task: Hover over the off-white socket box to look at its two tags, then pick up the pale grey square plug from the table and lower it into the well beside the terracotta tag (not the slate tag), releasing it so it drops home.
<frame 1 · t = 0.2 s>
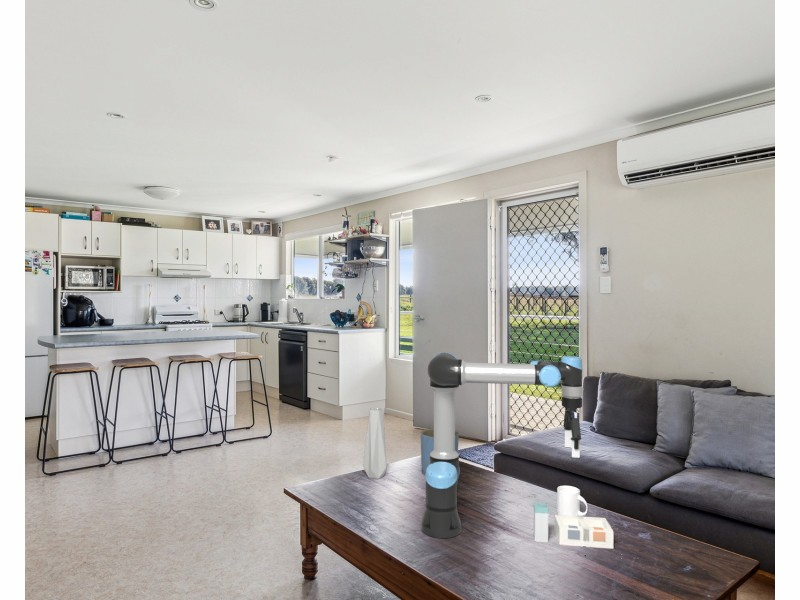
hand: (571, 452, 193), 28 cm above the table, fingers open, 13 cm apart
vase: (376, 477, 245), on the table
mug: (572, 518, 199), on the table
planter: (439, 473, 252), on the table
socket box: (582, 539, 180), on the table
plug: (540, 538, 180), on the table
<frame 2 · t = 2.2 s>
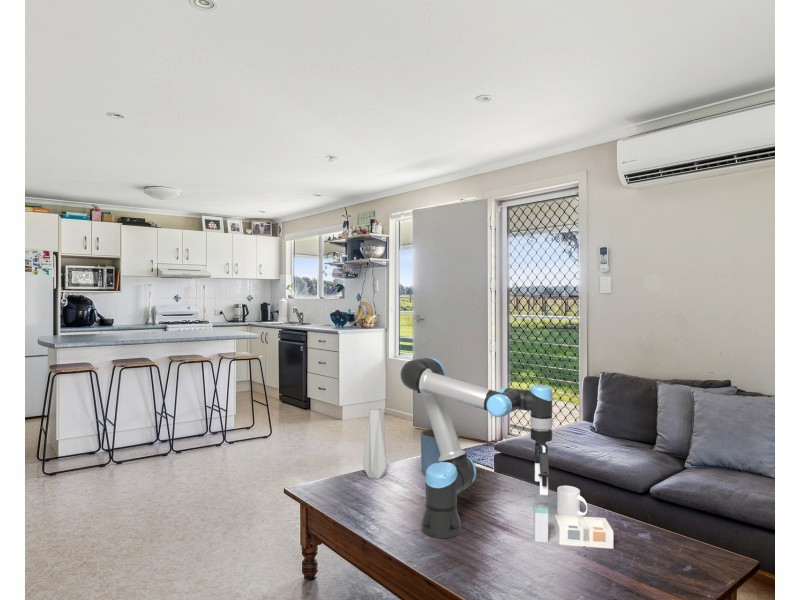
hand: (541, 487, 181), 18 cm above the table, fingers open, 13 cm apart
nothing on the table moved.
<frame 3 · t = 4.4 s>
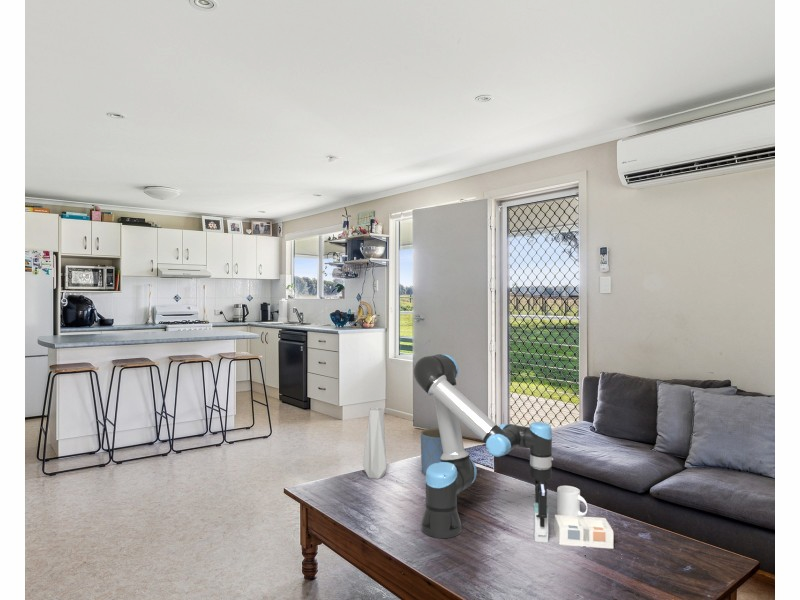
hand: (540, 531, 180), 3 cm above the table, fingers closed on plug, 4 cm apart
plug: (540, 538, 180), on the table, touching gripper
everything else where it was.
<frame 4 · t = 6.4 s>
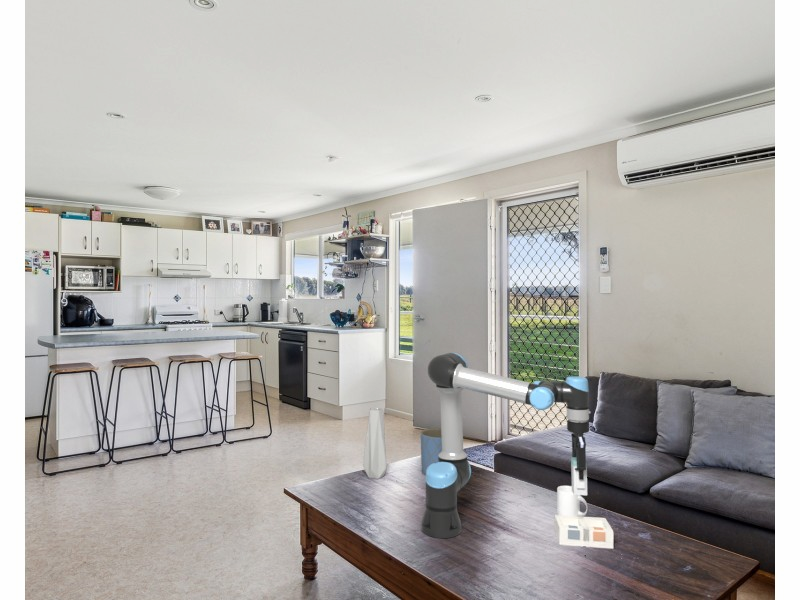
hand: (579, 485, 180), 20 cm above the table, fingers closed on plug, 4 cm apart
plug: (579, 492, 179), point 17 cm above the table, touching gripper
everything else where it was.
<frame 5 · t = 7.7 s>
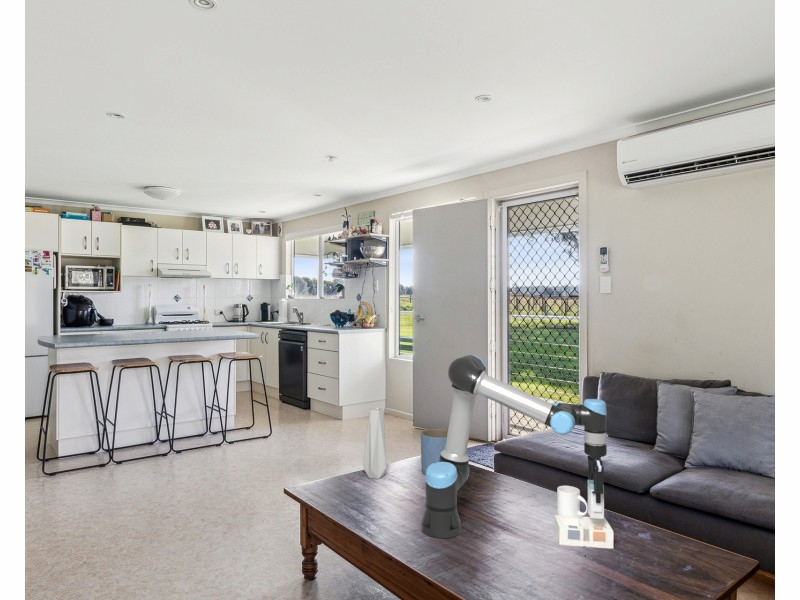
hand: (595, 508, 180), 11 cm above the table, fingers closed on plug, 4 cm apart
plug: (595, 515, 179), point 9 cm above the table, touching gripper
everything else where it was.
when the fingers open (8 cm above the table, at t = 8.7 s): plug drops 3 cm, resting on socket box.
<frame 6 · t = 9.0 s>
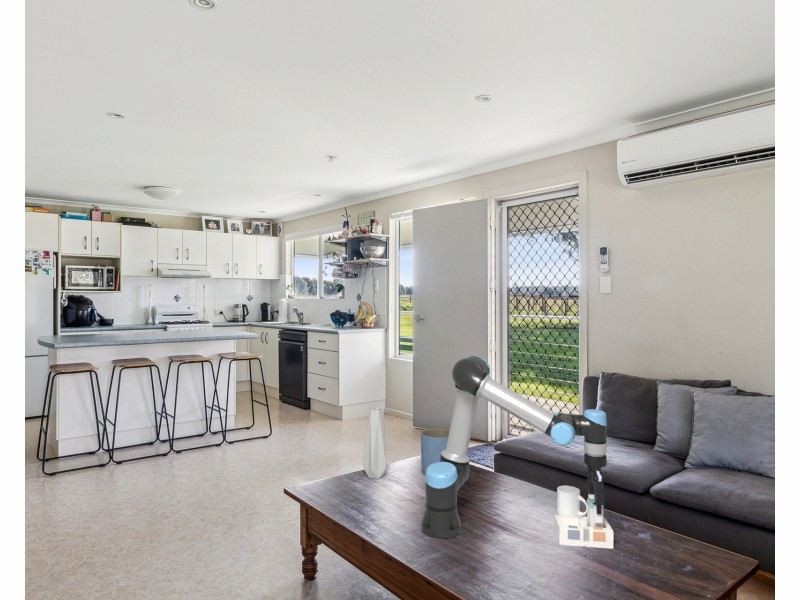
hand: (595, 517, 180), 8 cm above the table, fingers open, 8 cm apart
plug: (595, 534, 179), point 2 cm above the table, touching socket box
everything else where it was.
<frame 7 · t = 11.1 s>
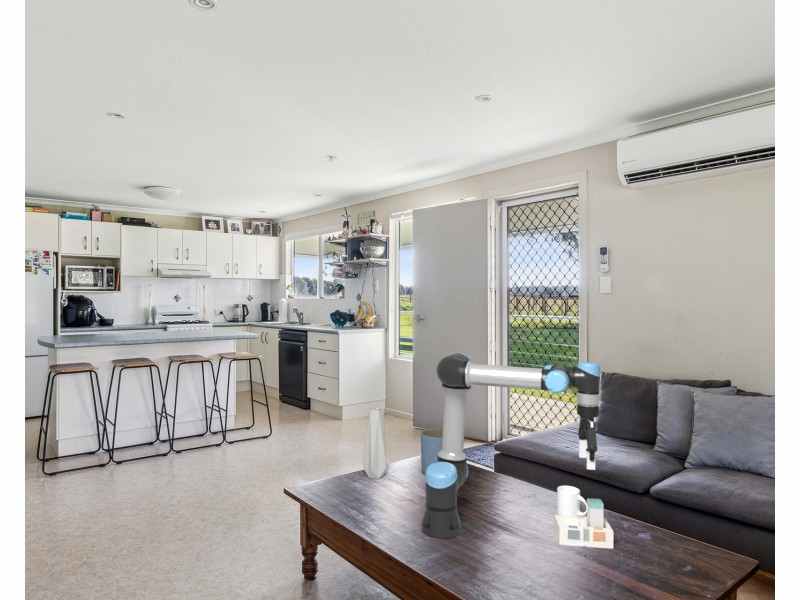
hand: (586, 463, 182), 27 cm above the table, fingers open, 13 cm apart
nothing on the table moved.
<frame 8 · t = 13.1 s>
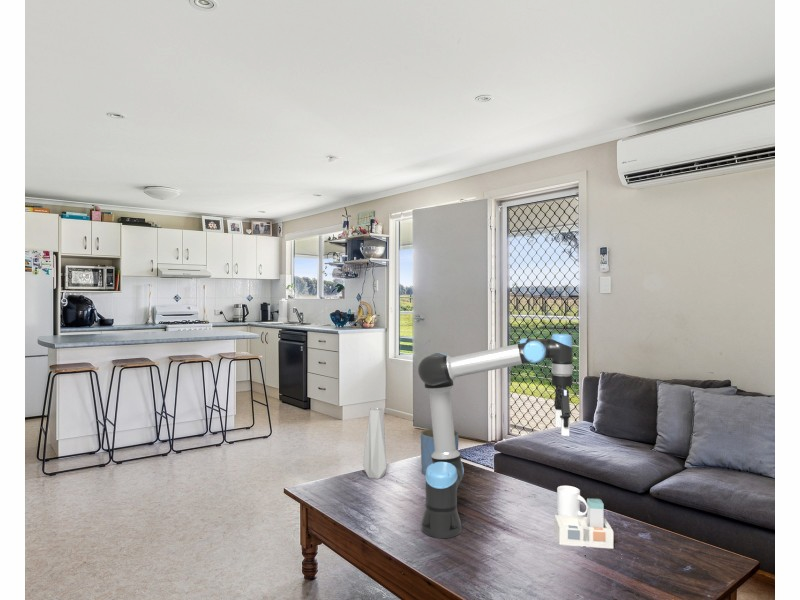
hand: (561, 431, 189), 37 cm above the table, fingers open, 13 cm apart
nothing on the table moved.
at the end: plug 0.0 cm from the target spot on the socket box, point 2.0 cm above the socket box's base; plug tilted 0°; the gripper is holding nothing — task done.
